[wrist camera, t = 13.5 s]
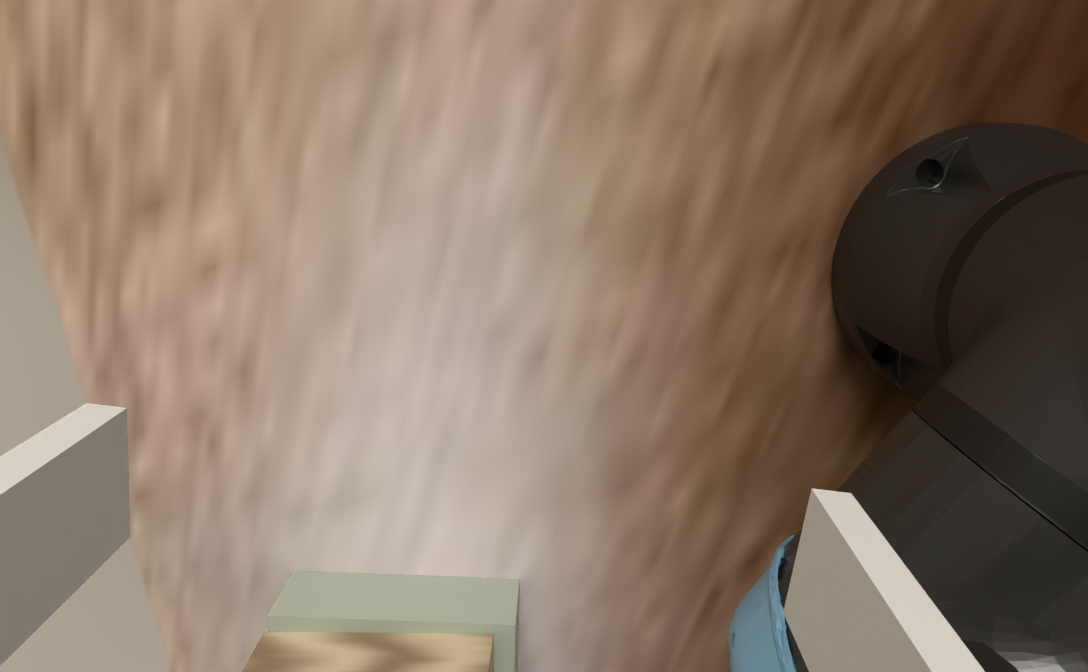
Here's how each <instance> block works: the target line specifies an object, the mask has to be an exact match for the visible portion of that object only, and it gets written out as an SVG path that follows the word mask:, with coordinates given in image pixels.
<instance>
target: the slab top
mask: <svg viewBox="0 0 1088 672" xmlns="http://www.w3.org/2000/svg"><path fill="white" fill-rule="evenodd" d="M242 672H494V642H493V634H459V633H337V632H264V634H263V635H262V637H261V639H260V641H259V643H258V644H257V646H256V648H255V650H254V651H253V653H252V655H251V657H250V658H249V660H248V662H247V664H246V665H245V667H244V669H243V671H242Z"/></svg>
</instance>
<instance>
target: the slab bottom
mask: <svg viewBox="0 0 1088 672" xmlns="http://www.w3.org/2000/svg"><path fill="white" fill-rule="evenodd" d="M519 581H520V579H508V578H481V577H454V576H428V575H401V574H375V573H348V572H322V571H295V570H294V571H293V572H292V574H291V576H290V578H289V579H288V581H287V583H286V584H285V586H284V588H283V590H282V591H281V593H280V595H279V596H278V598H277V600H276V602H275V603H274V605H273V607H272V609H271V610H270V612H269V614H268V615H267V617H268V630H269V632H337V633H459V634H493V642H494V672H517V669H518V625H519Z"/></svg>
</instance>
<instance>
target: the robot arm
mask: <svg viewBox="0 0 1088 672" xmlns="http://www.w3.org/2000/svg"><path fill="white" fill-rule="evenodd" d="M832 292H833V300H834V305H835V310H836V313H837V317H838V320H839V323H840V325H841V328H842V330H843V332H844V334H845V336H846V338H847V340H848V341H849V343H850V345H851V346H852V348H853V349H854V350H855V352H856V353H857V354H858V356H859V357H860V358H861V359H862V360H863V361H864V362H865V363H866V364H867V365H868V366H869V367H870V368H871V369H872V370H873V371H875V372H876V373H877V374H878V375H879V376H881V377H882V378H883V379H884V380H885V381H887V382H888V383H889V384H890V385H892V386H893V387H895V388H896V389H898V390H899V391H901V392H903V393H904V394H906V395H908V396H910V397H912V398H914V399H917V400H919V402H918V403H917V404H916V405H915V406H914V407H913V409H912V408H911V409H910V410H909V411H908V412H907V413H906V414H905V416H904V417H903V418H902V419H901V420H900V421H899V422H898V423H897V424H896V425H895V427H894V428H893V429H892V430H891V431H890V432H889V433H888V434H887V435H886V437H885V438H884V439H883V440H882V441H881V442H880V443H879V444H878V445H877V447H876V448H875V449H874V450H873V451H872V452H871V453H870V454H869V455H868V457H867V458H866V459H865V460H864V461H863V462H862V463H861V464H860V465H859V467H858V468H857V469H856V470H855V471H854V472H853V473H852V474H851V475H850V476H849V478H848V479H847V480H846V481H845V482H844V483H843V484H842V485H841V486H840V488H839V489H838V490H837V491H829V490H820V489H811V493H810V498H809V502H808V506H807V511H806V515H805V519H804V524H803V527H802V529H801V530H800V531H799V532H798V533H797V534H796V535H795V536H794V535H792V536H790V537H789V538H788V539H786V540H785V541H784V542H783V543H782V545H781V546H779V547H778V549H777V551H776V552H775V554H774V557H773V560H772V562H771V564H770V565H769V567H768V568H767V569H766V571H765V572H764V573H763V574H762V576H761V577H760V578H759V580H758V581H757V582H756V583H755V585H754V586H753V587H752V588H751V589H750V591H749V592H748V593H747V594H746V595H745V597H744V598H743V599H742V600H741V602H740V603H739V605H738V606H737V608H736V611H735V613H734V615H733V617H732V621H731V624H730V629H729V652H730V656H731V657H730V671H731V672H1088V144H1087V143H1085V142H1083V141H1081V140H1080V139H1078V138H1075V137H1073V136H1071V135H1068V134H1066V133H1063V132H1060V131H1057V130H1054V129H1050V128H1046V127H1042V126H1036V125H1029V124H1013V123H982V124H973V125H967V126H962V127H958V128H954V129H951V130H947V131H944V132H941V133H939V134H936V135H934V136H931V137H929V138H927V139H925V140H923V141H921V142H919V143H917V144H915V145H914V146H912V147H910V148H909V149H907V150H906V151H904V152H903V153H901V154H900V155H899V156H897V157H896V158H894V159H893V160H892V161H891V162H890V163H888V164H887V165H886V166H885V167H884V168H883V169H882V170H881V171H880V172H879V173H878V174H877V175H876V176H875V177H874V178H873V179H872V180H871V181H870V182H869V184H868V185H867V186H866V187H865V189H864V190H863V191H862V193H861V194H860V196H859V197H858V198H857V200H856V202H855V203H854V205H853V207H852V208H851V210H850V212H849V214H848V216H847V218H846V220H845V222H844V225H843V227H842V229H841V232H840V235H839V238H838V241H837V245H836V249H835V254H834V259H833V268H832ZM129 538H130V510H129V472H128V434H127V408H122V407H114V406H105V405H97V404H88V403H86V404H85V405H83V406H82V407H80V408H78V409H76V410H75V411H73V412H72V413H70V414H68V415H67V416H65V417H64V418H62V419H60V420H59V421H57V422H55V423H54V424H52V425H51V426H49V427H47V428H46V429H44V430H43V431H41V432H39V433H38V434H36V435H35V436H33V437H31V438H29V439H28V440H26V441H25V442H23V443H22V444H20V445H18V446H17V447H15V448H13V449H12V450H10V451H9V452H7V453H5V454H4V455H2V456H0V665H1V664H2V663H3V662H4V661H5V660H6V659H7V658H8V657H9V656H10V655H11V654H12V653H13V652H14V651H15V650H16V649H17V648H18V647H19V646H20V645H21V644H23V643H24V642H25V640H27V639H28V638H29V637H30V635H32V634H33V633H34V632H35V631H36V630H37V629H38V628H39V627H40V625H42V624H43V623H44V622H45V621H46V620H47V619H48V618H49V617H50V616H51V615H52V614H53V613H54V612H55V611H56V610H57V609H58V608H59V607H60V606H61V605H62V604H63V603H64V602H65V601H66V600H67V599H68V598H69V597H70V596H71V595H72V594H73V593H74V592H75V591H76V590H77V589H78V588H79V587H80V586H81V585H82V584H83V583H84V582H85V581H86V580H87V579H88V578H89V577H90V576H91V575H92V574H93V573H94V572H95V571H96V570H97V569H98V568H99V567H100V566H101V565H102V564H103V563H104V562H105V561H106V560H107V559H108V558H109V557H110V556H111V555H113V554H114V552H115V551H117V549H119V547H120V546H122V545H123V544H124V543H125V542H126V541H127V540H128V539H129Z"/></svg>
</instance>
